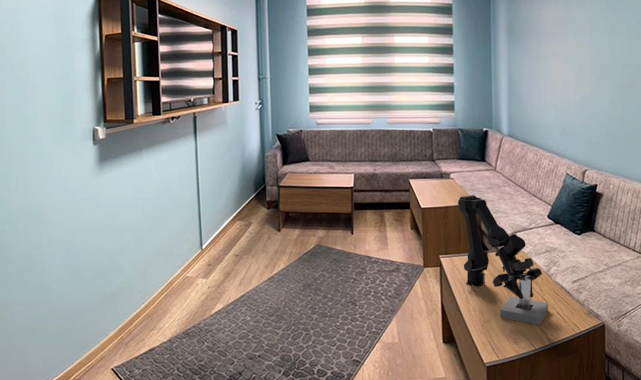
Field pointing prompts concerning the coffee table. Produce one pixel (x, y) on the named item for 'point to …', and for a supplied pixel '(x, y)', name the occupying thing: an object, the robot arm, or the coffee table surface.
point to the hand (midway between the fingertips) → (527, 297)
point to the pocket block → (524, 311)
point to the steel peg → (525, 293)
